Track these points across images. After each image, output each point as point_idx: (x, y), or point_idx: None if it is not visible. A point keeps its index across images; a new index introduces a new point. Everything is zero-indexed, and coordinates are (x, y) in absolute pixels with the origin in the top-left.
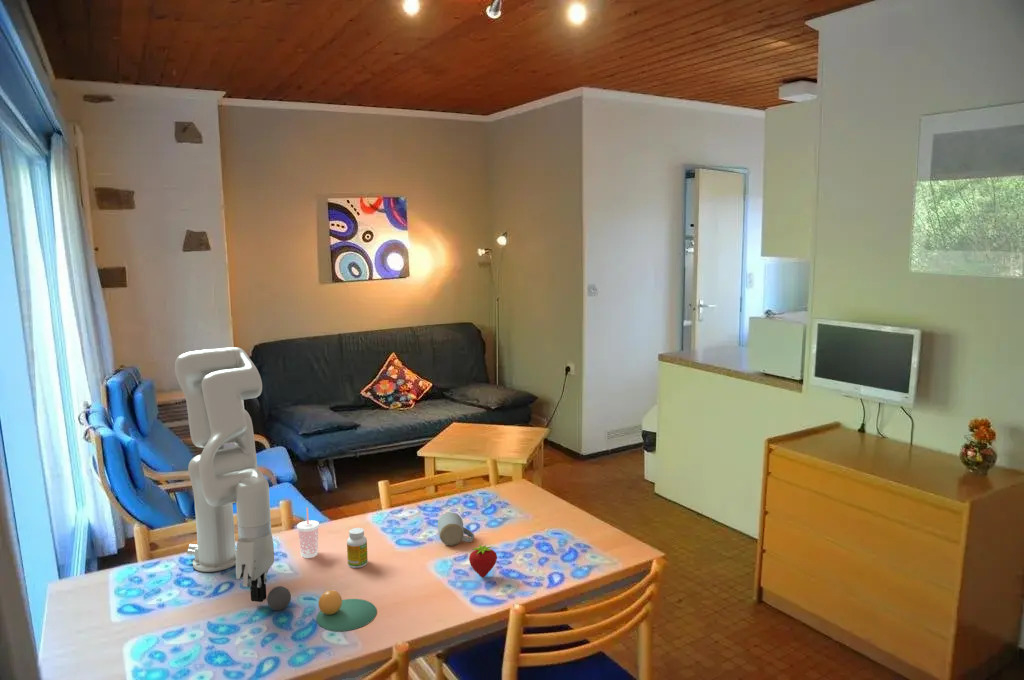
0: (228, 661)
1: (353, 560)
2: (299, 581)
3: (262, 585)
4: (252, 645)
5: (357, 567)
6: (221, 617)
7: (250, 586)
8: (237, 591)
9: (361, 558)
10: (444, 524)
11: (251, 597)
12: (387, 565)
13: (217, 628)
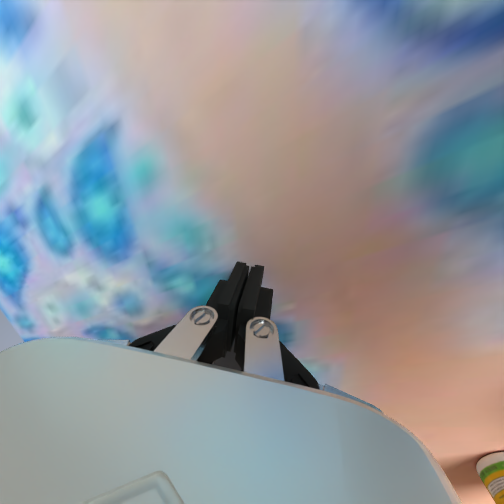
0: (10, 284)
1: (502, 495)
2: (426, 350)
3: (234, 350)
4: (77, 313)
5: (476, 466)
6: (154, 166)
7: (191, 317)
8: (386, 121)
9: None
10: None
11: (233, 269)
12: (464, 501)
13: (93, 189)
